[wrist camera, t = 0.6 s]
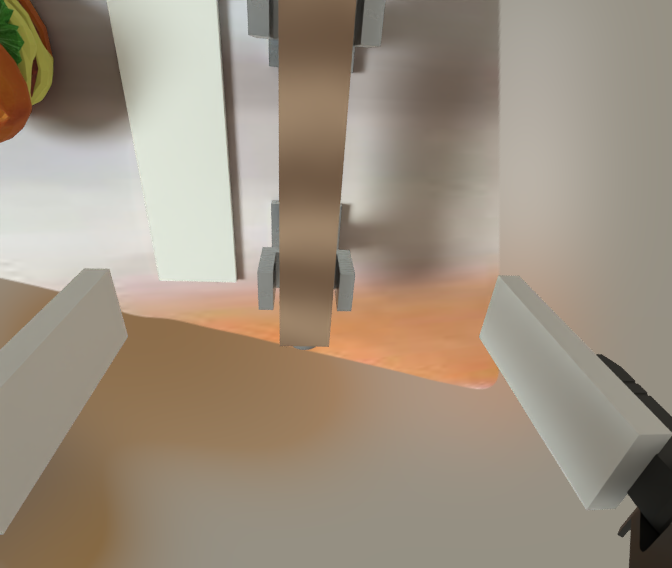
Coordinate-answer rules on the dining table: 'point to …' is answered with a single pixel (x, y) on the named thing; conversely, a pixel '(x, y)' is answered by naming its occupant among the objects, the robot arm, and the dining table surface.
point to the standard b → (365, 28)
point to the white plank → (179, 132)
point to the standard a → (271, 270)
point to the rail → (311, 160)
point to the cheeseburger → (22, 64)
